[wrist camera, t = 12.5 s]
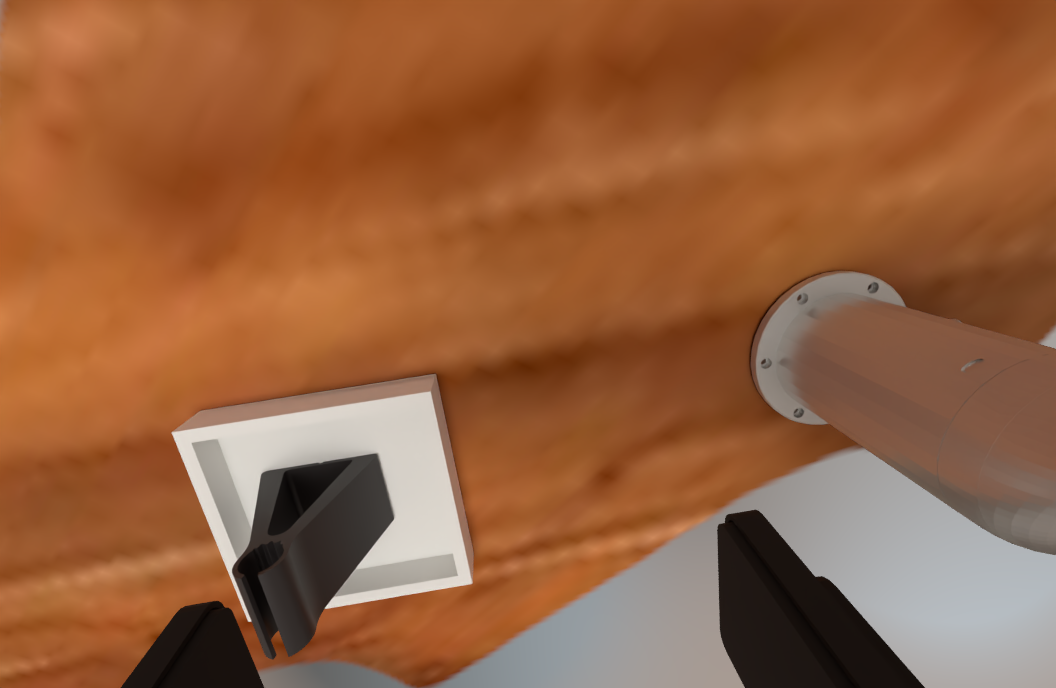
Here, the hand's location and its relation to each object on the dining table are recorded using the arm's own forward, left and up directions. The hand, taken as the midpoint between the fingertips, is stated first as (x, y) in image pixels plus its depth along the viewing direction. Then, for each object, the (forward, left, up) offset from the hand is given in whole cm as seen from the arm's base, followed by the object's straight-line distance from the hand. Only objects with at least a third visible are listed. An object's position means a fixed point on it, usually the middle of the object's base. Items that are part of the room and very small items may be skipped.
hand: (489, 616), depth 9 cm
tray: (+14, +13, -28) cm, 34 cm away
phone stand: (+15, +13, -28) cm, 34 cm away
